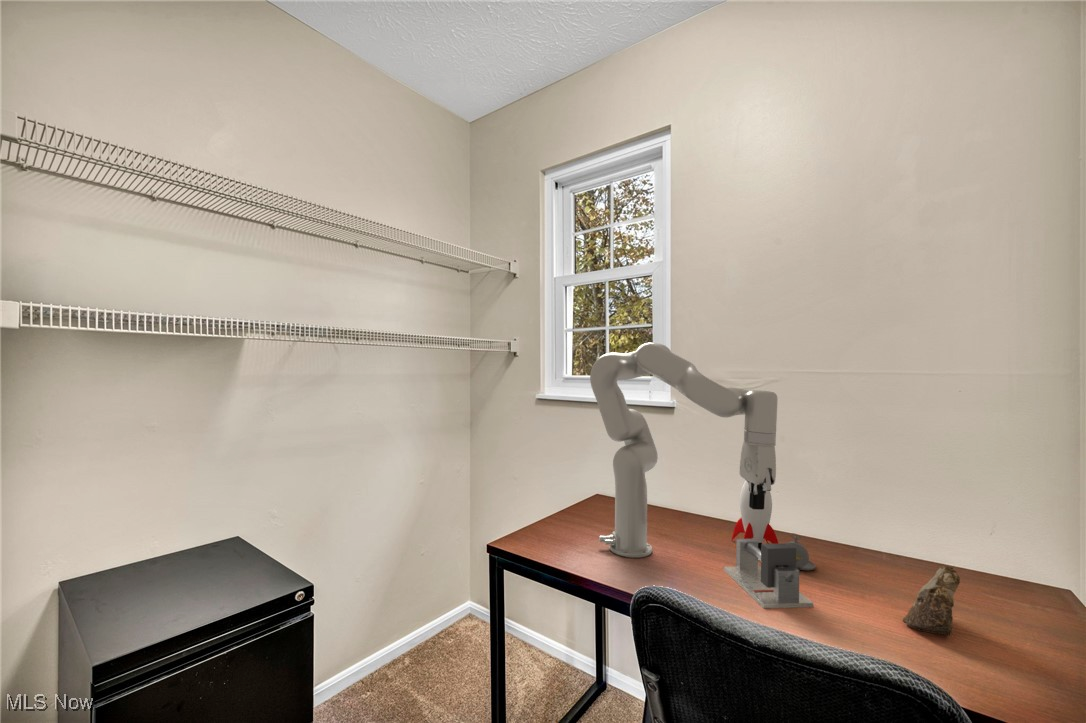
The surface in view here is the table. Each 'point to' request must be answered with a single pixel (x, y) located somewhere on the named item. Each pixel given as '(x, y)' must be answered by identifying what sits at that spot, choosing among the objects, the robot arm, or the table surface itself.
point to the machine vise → (750, 581)
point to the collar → (775, 560)
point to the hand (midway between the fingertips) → (756, 508)
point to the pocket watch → (801, 556)
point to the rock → (935, 603)
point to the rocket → (755, 519)
